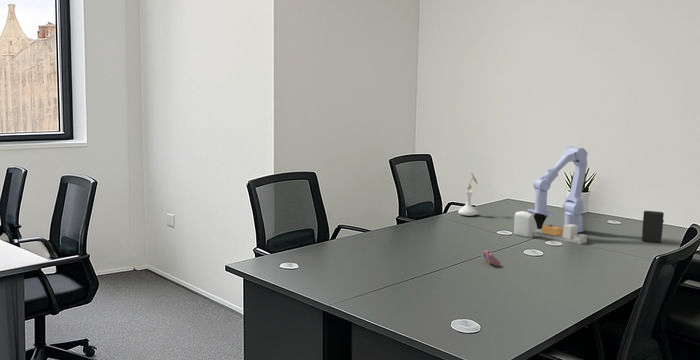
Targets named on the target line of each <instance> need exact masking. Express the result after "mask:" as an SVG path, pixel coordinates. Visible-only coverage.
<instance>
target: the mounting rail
mask: <svg viewBox="0 0 700 360" xmlns="http://www.w3.org/2000/svg"><path fill="white" fill-rule="evenodd" d="M533 235H536V236H542V237H545V238H551V239H555V240H561V241H564V242H570V243H574V244H579V245H583V244H588V238H587V237H588V235H587V234H582V233H579V234H577V235H575V236H574V238H572V239H568V238H563V234H560V235H556V236H555V235H550V234H546V233H542V229H537V228H536V229H533Z"/></svg>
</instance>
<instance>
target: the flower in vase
mask: <svg viewBox="0 0 700 360" xmlns="http://www.w3.org/2000/svg"><path fill="white" fill-rule="evenodd" d="M470 175H471V180H470V181H469V184H468V187H467V188H466V189H467V190H465V191H464V193H465V196H466V203H465V205H463V206H462V207H461V208H460V209H459V210H458V211H457V212H458V214H459V215H461V216H469V217H470V216H476V215H478V214H479V212H478V210H477V209H476V208H475V207H474V206H473V205H472V204H471V199H472V195H473V193H474V191H473V190H470V189H472V186H471V182H472V181H474V183H475V184H476V185H478V181H477V178H476V177H475V174H474V173H473V172H472V171H471V172H470Z"/></svg>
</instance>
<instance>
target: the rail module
mask: <svg viewBox="0 0 700 360" xmlns="http://www.w3.org/2000/svg"><path fill="white" fill-rule="evenodd" d="M562 227H563V234H562V235H563V238H568V239H572V238H574V236H575V235H578V233H577V228H578V225H573V224H568V225H565V224H564V225H563V226H562Z"/></svg>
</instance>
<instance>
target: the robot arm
mask: <svg viewBox="0 0 700 360" xmlns="http://www.w3.org/2000/svg"><path fill="white" fill-rule="evenodd" d="M588 155H589V153H588V152H587V150H586V149H585V148H583V147H576V146H572V145H569V146H568V147H566V149H565V150H564V151H563V154H562V155H561V157H560V158H559V159H558V160H557V162H556V163H555V164H554V166H553V167H549V168H547V169H546V171H545V172H544V174H543V175H541V176H540V178H537V179H536V180H535V181H534V182H533V188H534V192H535V195H534V197H535V198H534V200H535V201H534V209H533V208H527V211H526V212H528V213H531V214H532V215H533V216H534V222H535V224H536V229H538V230H542V226H544V223H545V221H546V219H547V218H548V217H549V218H554V217H555V215H554V214H555V213H554V212H552V211H548V210H547V205H548V191H549V190H550V188H551V185H552V183H553V182H554V181H555V179H557V177H558V176H559V172H560V171H561V170H562V169H563V168H564V167H566V165H567V164H569V163H570V162H573V164H574V165H575V168H574V172H573V176H572V177H573V178H572V181H571V182H572V183H571V187H570V191H569V195H568V196H567V197H565V199H564V202H563V204H562V211H564V225H568V224H573V225H578V228H577V234H578V233H581V232H584V231H585V230H584V229H583V227H584V222H583V221H584V217H583V215H582V214H583V212H584V201H583V199H582V192H583V186H584V182H585V177H586V173H587V167H588Z"/></svg>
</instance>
